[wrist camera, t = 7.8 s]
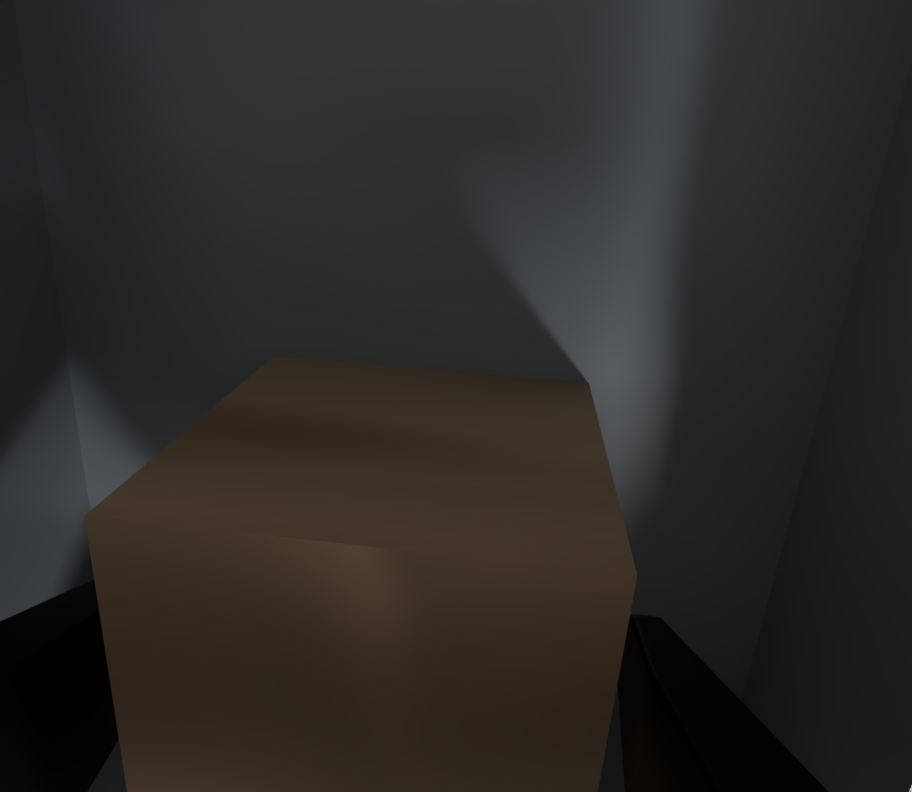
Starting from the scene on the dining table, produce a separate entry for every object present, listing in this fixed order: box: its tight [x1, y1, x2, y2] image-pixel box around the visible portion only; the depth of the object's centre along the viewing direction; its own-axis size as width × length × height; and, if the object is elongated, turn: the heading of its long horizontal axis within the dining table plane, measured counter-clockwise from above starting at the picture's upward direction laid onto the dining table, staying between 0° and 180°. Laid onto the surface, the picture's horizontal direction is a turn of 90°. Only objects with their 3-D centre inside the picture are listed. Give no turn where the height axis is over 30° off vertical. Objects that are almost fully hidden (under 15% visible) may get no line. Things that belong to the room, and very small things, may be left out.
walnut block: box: [84, 356, 637, 792], centre depth 9 cm, size 5×5×5 cm
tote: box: [0, 0, 912, 792], centre depth 9 cm, size 17×13×5 cm
